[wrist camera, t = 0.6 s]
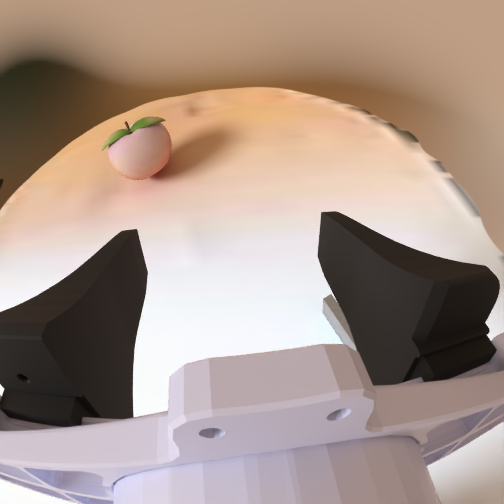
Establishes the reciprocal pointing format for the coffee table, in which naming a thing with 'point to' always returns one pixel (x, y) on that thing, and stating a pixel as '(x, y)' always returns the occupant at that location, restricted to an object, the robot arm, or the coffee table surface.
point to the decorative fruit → (140, 148)
